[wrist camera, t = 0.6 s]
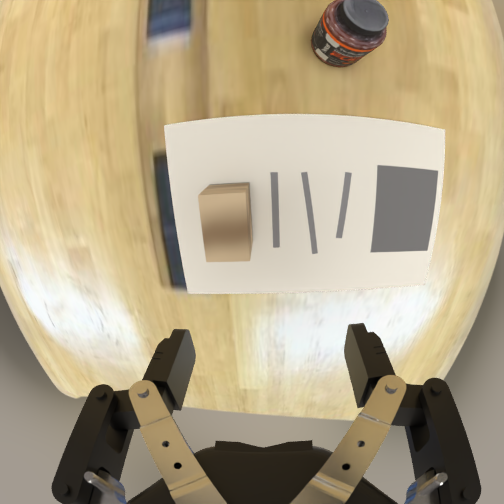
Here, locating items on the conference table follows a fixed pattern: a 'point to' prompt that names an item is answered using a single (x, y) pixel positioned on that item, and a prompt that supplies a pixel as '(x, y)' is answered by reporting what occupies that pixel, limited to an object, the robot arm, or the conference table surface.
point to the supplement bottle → (349, 31)
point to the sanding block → (226, 222)
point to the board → (311, 200)
